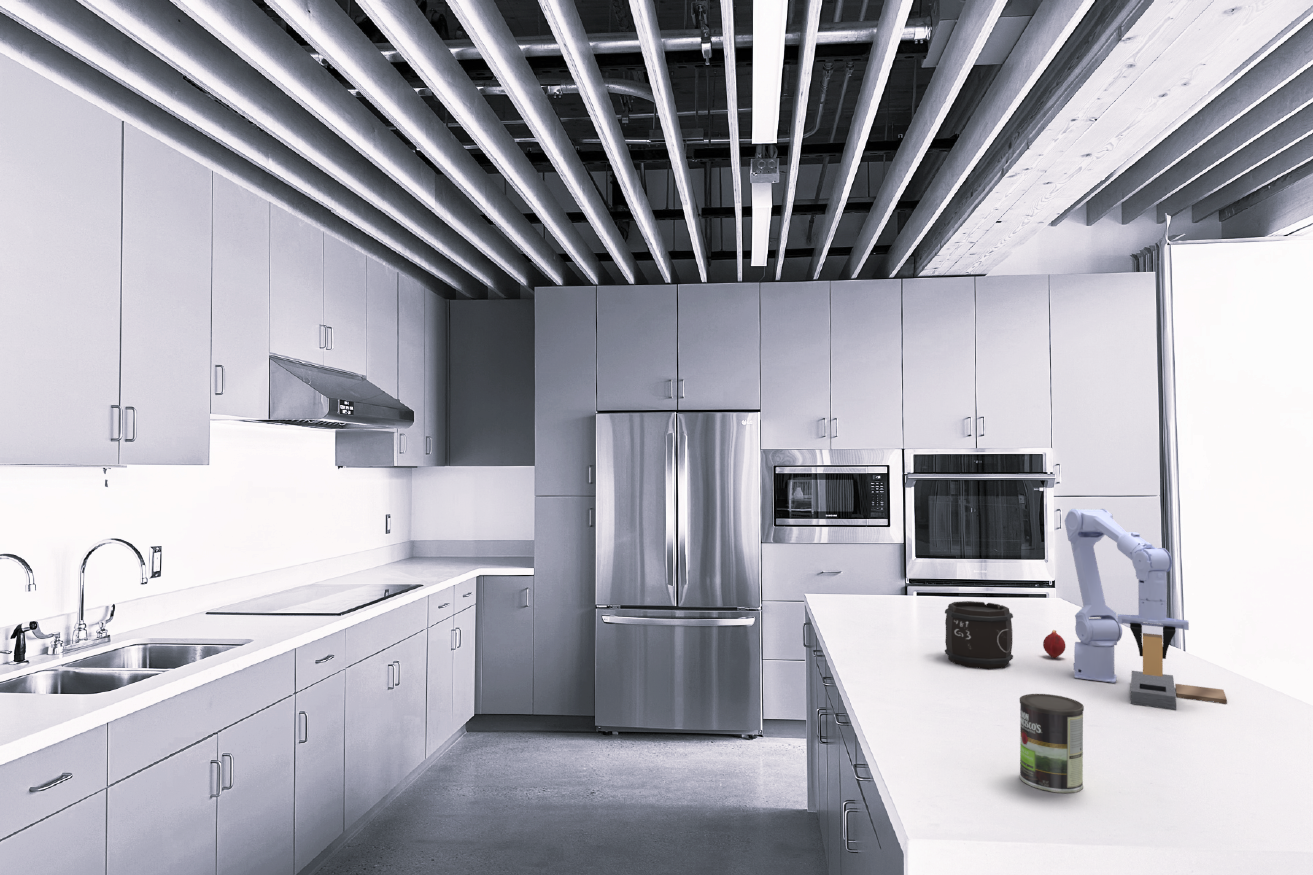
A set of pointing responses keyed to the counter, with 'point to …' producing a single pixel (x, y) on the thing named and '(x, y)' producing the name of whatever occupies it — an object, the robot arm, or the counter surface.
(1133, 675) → the grey slotted block
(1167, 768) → the counter surface
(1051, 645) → the onion
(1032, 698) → the coffee can
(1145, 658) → the peg
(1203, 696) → the board
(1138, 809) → the counter surface
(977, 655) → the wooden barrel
